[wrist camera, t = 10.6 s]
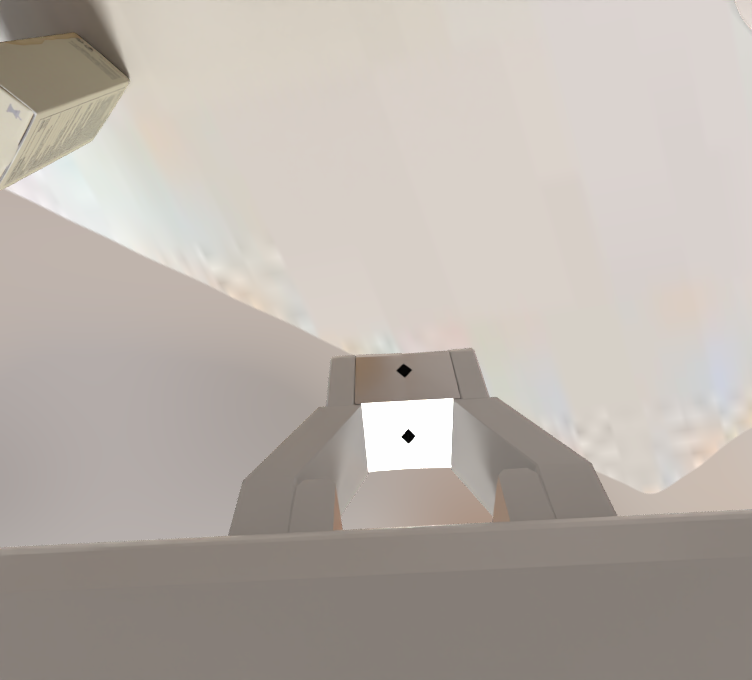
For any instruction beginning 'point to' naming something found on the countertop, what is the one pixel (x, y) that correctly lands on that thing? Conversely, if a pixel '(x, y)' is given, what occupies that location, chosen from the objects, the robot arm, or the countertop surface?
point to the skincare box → (51, 100)
